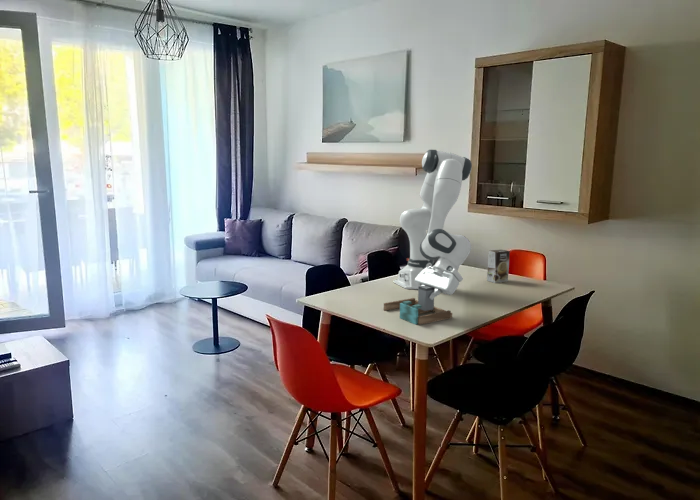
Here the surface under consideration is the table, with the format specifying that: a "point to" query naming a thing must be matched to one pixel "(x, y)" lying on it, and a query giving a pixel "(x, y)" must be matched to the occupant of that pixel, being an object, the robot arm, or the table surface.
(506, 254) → the coffee box
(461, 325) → the table surface
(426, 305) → the tall grey block
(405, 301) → the frame
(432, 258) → the robot arm
